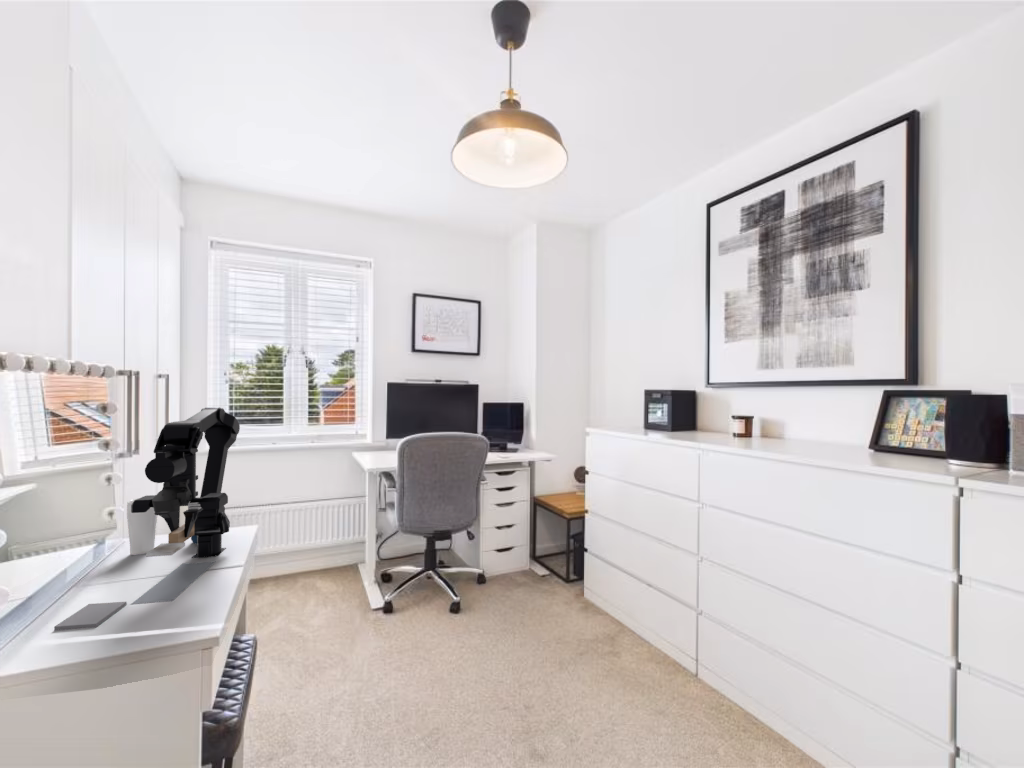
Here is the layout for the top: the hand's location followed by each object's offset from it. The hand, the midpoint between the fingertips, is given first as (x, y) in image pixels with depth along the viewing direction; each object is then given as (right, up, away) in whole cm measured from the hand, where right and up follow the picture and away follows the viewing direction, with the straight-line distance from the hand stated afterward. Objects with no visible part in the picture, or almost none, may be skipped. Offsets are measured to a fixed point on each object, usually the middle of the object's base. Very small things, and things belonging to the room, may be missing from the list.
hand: (181, 537), depth 110 cm
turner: (0, -1, -2) cm, 2 cm away
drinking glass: (-24, -11, +17) cm, 31 cm away
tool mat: (0, -11, -1) cm, 11 cm away
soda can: (-12, -11, +27) cm, 31 cm away
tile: (-6, -10, -14) cm, 18 cm away
